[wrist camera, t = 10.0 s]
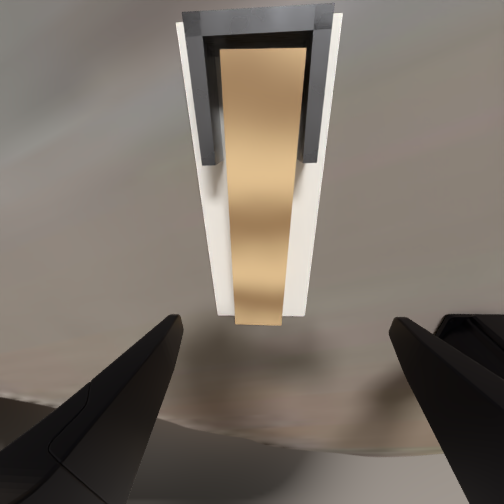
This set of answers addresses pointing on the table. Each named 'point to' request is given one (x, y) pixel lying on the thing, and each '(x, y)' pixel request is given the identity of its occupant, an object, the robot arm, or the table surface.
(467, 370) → the robot arm
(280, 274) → the oak rail
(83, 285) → the table surface
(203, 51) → the bracket plate
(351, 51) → the table surface
